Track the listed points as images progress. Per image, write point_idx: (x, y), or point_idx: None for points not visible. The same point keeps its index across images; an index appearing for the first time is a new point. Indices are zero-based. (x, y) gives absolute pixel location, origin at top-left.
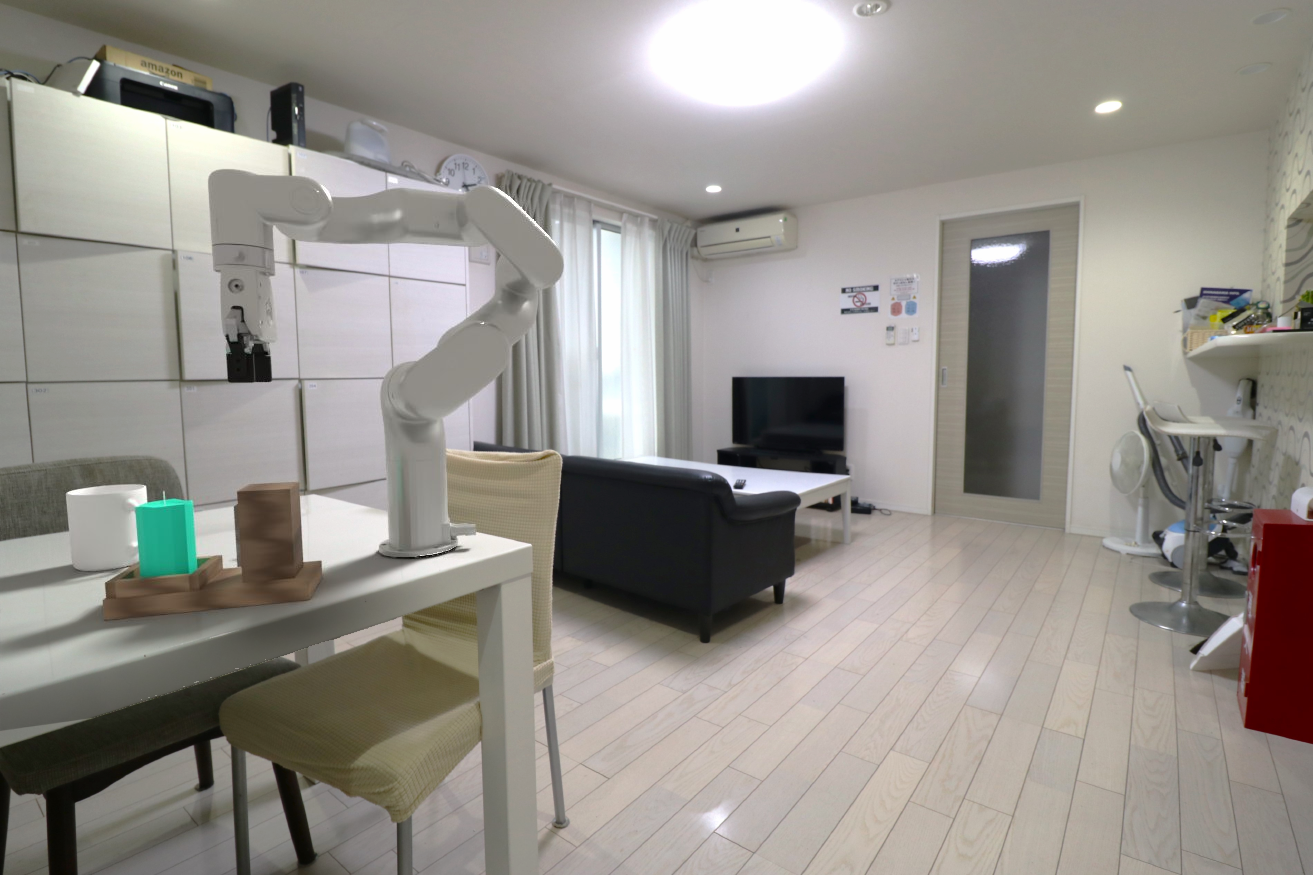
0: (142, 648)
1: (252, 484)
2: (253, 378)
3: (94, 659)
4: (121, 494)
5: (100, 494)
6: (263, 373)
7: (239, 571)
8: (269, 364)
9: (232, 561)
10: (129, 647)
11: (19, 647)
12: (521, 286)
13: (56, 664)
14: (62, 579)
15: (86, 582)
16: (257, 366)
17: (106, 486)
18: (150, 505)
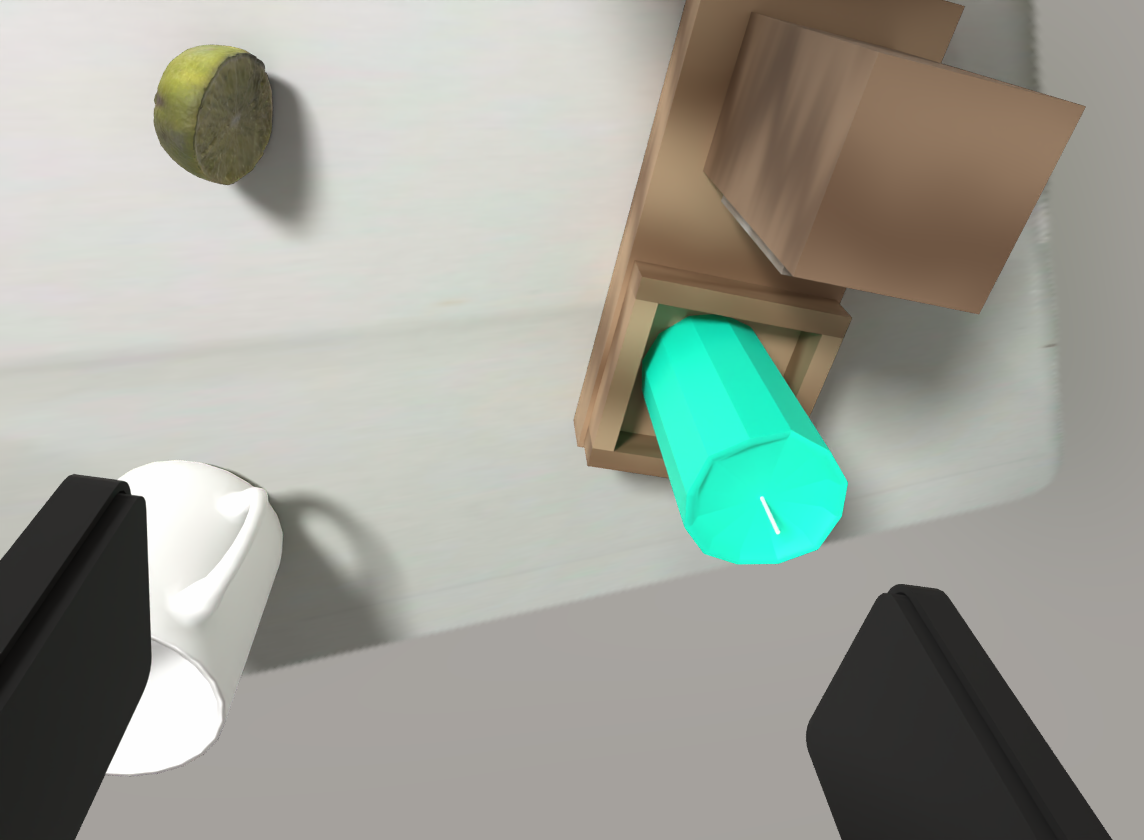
0: (1002, 356)
1: (815, 265)
2: (956, 613)
3: (998, 418)
4: (200, 652)
5: (223, 697)
6: (106, 622)
7: (697, 213)
8: (23, 667)
9: (312, 235)
10: (976, 377)
11: (829, 535)
12: None
13: (974, 465)
14: (334, 586)
15: (391, 538)
16: (58, 761)
17: None
18: (709, 536)
